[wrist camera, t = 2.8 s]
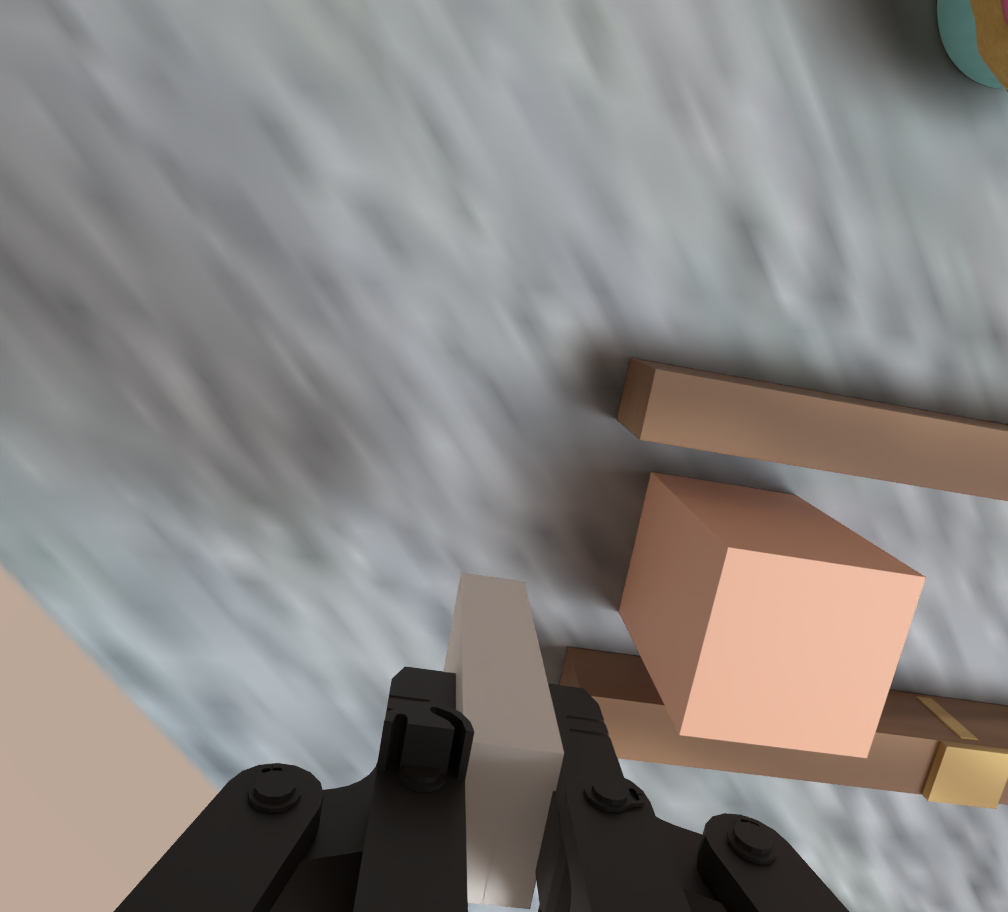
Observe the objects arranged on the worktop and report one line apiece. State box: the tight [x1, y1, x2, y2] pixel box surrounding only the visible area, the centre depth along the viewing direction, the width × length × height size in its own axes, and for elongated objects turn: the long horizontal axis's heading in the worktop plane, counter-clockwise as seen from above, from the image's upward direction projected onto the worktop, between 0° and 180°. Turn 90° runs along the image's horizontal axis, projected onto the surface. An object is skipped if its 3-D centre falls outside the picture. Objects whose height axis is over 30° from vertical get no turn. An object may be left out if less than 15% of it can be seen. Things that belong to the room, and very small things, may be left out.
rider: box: [619, 472, 926, 758], centre depth 21 cm, size 5×5×7 cm
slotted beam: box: [559, 358, 1008, 809], centre depth 24 cm, size 12×26×3 cm, turn 80°
